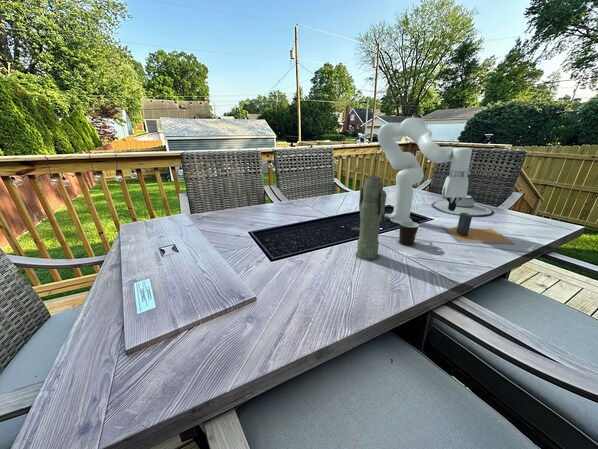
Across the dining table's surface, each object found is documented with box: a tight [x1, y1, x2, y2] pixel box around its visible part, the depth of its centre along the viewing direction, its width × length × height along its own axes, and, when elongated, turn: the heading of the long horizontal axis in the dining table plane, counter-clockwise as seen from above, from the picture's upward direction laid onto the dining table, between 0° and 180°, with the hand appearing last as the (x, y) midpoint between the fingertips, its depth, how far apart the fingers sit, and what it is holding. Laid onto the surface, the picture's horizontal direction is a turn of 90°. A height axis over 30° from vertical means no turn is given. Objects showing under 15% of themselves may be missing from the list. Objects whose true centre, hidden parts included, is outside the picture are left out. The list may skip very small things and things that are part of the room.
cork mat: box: [444, 227, 513, 244], centre depth 129 cm, size 24×18×1 cm
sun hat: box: [431, 194, 494, 217], centre depth 172 cm, size 36×36×9 cm
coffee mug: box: [398, 221, 420, 247], centre depth 121 cm, size 12×9×10 cm
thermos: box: [356, 175, 387, 261], centre depth 105 cm, size 9×12×35 cm
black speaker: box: [456, 213, 473, 236], centre depth 128 cm, size 3×6×11 cm, turn 173°
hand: (451, 210), depth 126 cm, fingers closed
